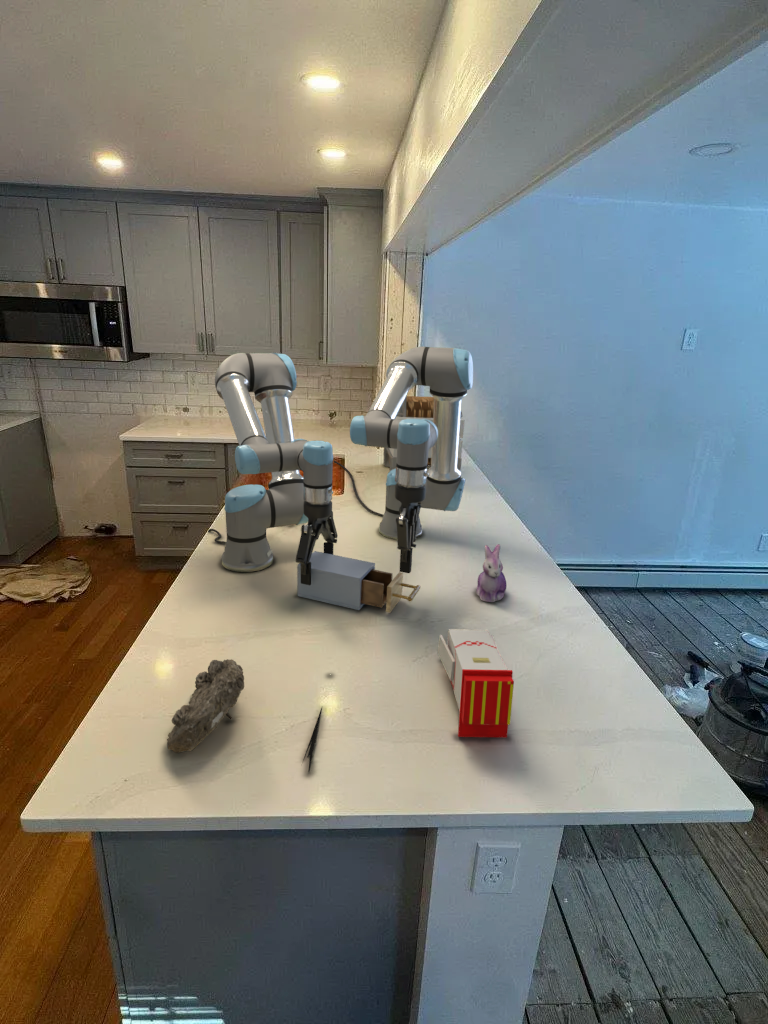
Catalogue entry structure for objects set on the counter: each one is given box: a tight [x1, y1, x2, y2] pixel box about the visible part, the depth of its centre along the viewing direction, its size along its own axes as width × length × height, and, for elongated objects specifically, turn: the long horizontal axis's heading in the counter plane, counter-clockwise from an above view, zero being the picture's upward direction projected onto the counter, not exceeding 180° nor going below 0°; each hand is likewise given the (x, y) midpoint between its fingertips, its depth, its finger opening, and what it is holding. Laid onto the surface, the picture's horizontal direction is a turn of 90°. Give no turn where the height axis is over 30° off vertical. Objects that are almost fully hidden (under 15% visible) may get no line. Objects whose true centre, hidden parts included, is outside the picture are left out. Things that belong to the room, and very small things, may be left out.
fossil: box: [166, 658, 245, 754], centre depth 106 cm, size 22×10×15 cm
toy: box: [437, 628, 515, 738], centre depth 117 cm, size 12×13×30 cm
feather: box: [301, 673, 332, 771], centre depth 108 cm, size 2×28×2 cm
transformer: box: [383, 395, 465, 473], centre depth 268 cm, size 34×33×41 cm
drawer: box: [361, 569, 421, 614], centre depth 151 cm, size 22×9×7 cm, turn 69°
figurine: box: [476, 544, 507, 603], centre depth 157 cm, size 9×10×15 cm
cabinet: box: [296, 550, 376, 611], centre depth 154 cm, size 18×10×9 cm, turn 69°
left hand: (317, 573), depth 156 cm, fingers open, 13 cm apart
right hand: (405, 571), depth 146 cm, fingers closed
